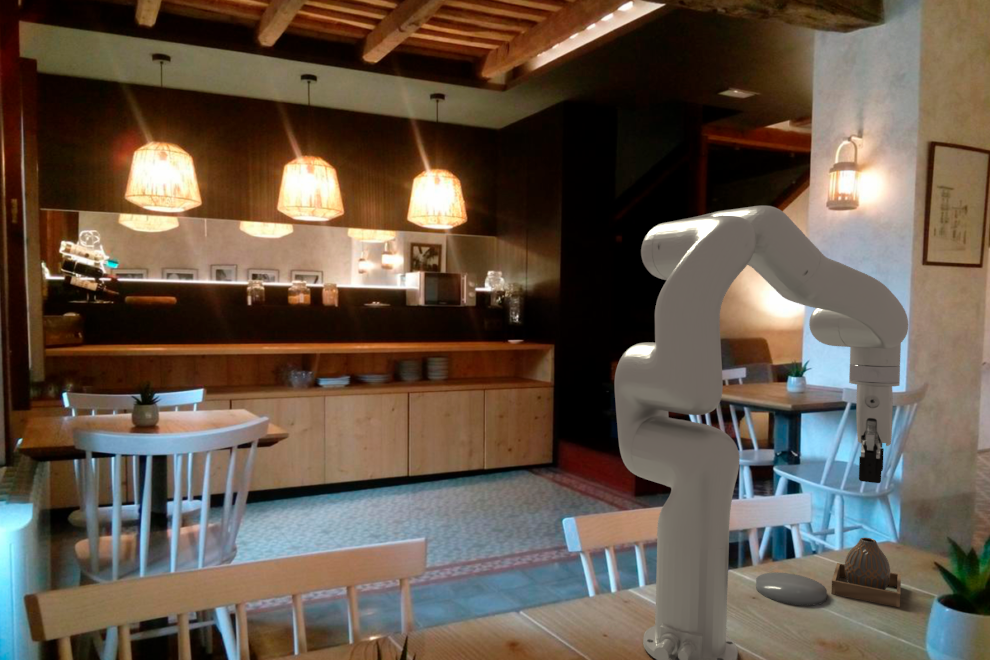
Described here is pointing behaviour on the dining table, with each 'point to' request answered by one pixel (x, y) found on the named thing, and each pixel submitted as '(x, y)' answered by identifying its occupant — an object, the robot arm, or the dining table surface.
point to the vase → (867, 565)
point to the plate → (791, 589)
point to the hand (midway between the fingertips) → (871, 475)
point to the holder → (866, 589)
